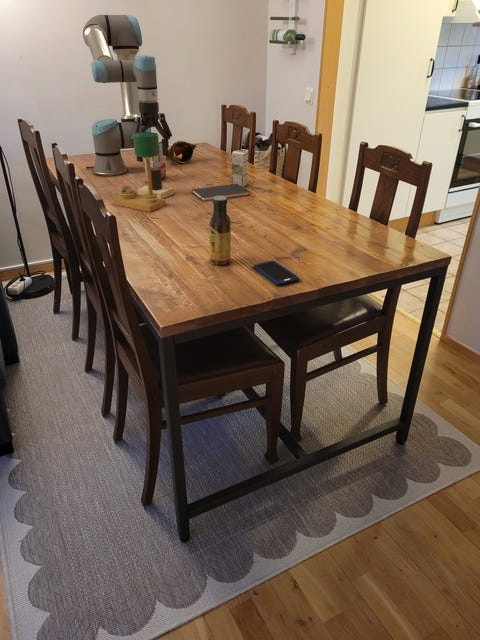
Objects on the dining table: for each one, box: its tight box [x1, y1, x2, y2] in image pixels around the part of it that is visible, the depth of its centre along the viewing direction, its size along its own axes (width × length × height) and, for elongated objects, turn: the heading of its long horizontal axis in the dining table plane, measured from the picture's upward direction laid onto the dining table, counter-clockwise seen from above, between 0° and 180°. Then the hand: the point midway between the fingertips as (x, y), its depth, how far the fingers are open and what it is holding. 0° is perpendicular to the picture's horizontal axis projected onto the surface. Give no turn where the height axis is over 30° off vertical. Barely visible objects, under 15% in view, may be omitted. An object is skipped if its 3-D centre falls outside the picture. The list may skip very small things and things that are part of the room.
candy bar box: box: [143, 140, 167, 183], centre depth 217 cm, size 11×5×16 cm, turn 161°
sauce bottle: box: [208, 196, 232, 266], centre depth 140 cm, size 7×6×20 cm
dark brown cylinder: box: [151, 167, 163, 190], centre depth 199 cm, size 6×6×8 cm
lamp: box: [133, 131, 160, 199], centre depth 180 cm, size 9×9×23 cm
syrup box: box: [231, 149, 249, 188], centre depth 212 cm, size 6×6×14 cm
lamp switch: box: [121, 185, 133, 194], centre depth 191 cm, size 4×4×2 cm
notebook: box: [191, 183, 250, 202], centre depth 203 cm, size 13×2×21 cm
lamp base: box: [113, 189, 167, 213], centre depth 190 cm, size 18×10×4 cm, turn 60°
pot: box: [165, 140, 199, 164], centre depth 251 cm, size 17×11×18 cm
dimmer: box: [136, 184, 175, 199], centre depth 201 cm, size 12×10×3 cm
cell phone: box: [252, 260, 300, 286], centre depth 138 cm, size 7×14×1 cm, turn 30°
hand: (153, 158), depth 194 cm, fingers open, 13 cm apart
